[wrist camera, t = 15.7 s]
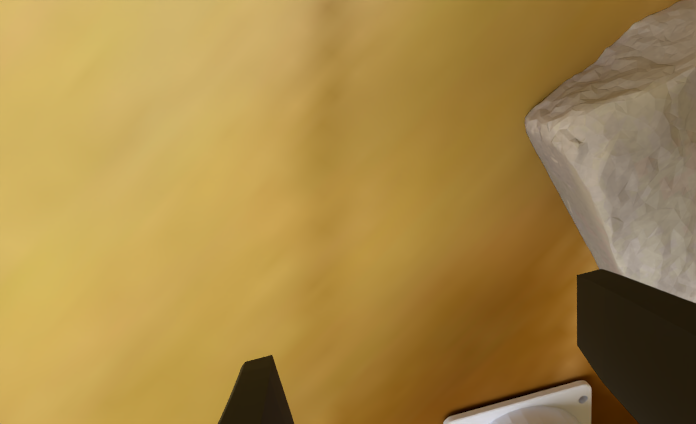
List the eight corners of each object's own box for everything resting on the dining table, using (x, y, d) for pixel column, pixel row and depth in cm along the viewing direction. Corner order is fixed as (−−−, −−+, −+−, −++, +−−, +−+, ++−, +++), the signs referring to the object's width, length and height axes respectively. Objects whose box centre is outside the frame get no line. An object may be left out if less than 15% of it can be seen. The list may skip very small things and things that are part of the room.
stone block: (668, -30, 21) (494, 124, 20) (800, -51, 17) (585, 144, 16) (735, 177, 26) (598, 306, 25) (848, 201, 22) (687, 357, 21)
